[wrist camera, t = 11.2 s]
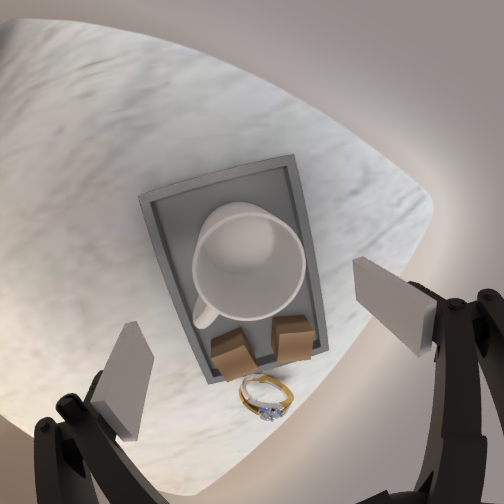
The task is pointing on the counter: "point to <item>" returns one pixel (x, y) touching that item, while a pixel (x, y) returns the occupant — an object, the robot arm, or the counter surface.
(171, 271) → the tray
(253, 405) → the ring
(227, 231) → the cup
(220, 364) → the block
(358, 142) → the counter surface
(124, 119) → the counter surface
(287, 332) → the block
